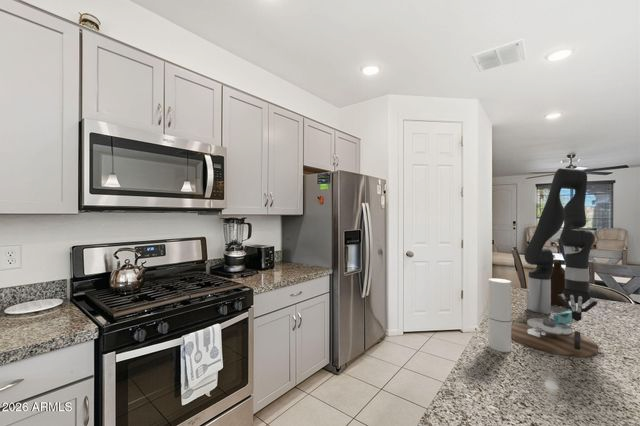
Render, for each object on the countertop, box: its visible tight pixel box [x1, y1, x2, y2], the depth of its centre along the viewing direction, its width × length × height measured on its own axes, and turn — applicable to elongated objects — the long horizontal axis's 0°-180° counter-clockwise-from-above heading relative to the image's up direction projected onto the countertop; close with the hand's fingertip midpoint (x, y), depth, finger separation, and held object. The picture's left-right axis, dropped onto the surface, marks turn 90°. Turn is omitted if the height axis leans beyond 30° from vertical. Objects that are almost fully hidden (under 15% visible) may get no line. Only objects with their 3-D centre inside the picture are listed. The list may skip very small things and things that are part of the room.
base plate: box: [511, 322, 599, 358], centre depth 113 cm, size 28×28×8 cm
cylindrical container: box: [488, 277, 512, 353], centre depth 107 cm, size 7×7×25 cm
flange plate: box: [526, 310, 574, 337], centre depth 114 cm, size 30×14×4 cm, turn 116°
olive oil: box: [551, 259, 570, 307], centre depth 160 cm, size 11×11×25 cm
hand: (576, 320), depth 117 cm, fingers closed
